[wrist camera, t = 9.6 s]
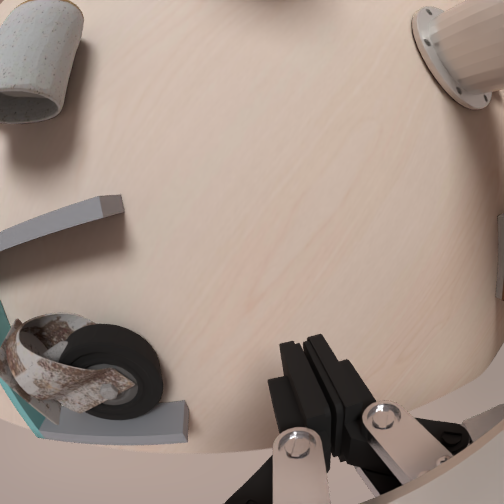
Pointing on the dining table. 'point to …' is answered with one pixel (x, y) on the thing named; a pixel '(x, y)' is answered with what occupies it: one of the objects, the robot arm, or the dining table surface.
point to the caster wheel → (80, 367)
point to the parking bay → (70, 423)
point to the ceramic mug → (37, 59)
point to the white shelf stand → (500, 259)
